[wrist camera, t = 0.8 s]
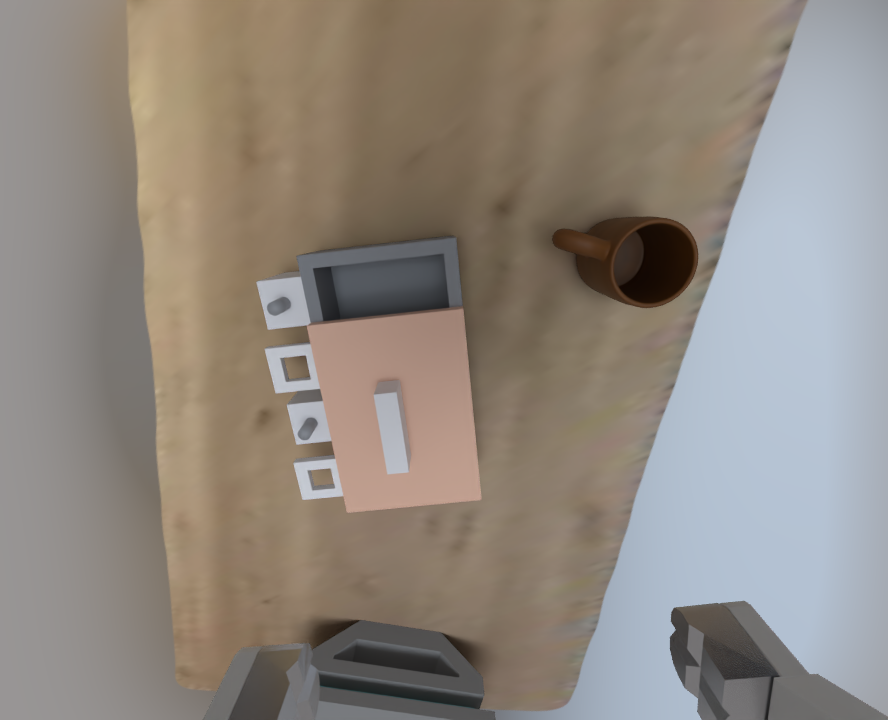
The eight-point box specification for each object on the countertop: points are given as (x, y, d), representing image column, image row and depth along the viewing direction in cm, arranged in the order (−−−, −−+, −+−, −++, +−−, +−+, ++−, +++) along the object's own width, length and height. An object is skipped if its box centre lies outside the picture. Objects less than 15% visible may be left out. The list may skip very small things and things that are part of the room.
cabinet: (280, 255, 43) (238, 263, 34) (453, 235, 43) (457, 238, 34) (319, 428, 49) (292, 473, 40) (470, 412, 49) (477, 454, 40)
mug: (524, 270, 44) (545, 282, 35) (549, 195, 42) (578, 188, 33) (629, 300, 45) (676, 320, 36) (659, 229, 43) (717, 231, 34)
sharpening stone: (306, 652, 61) (279, 740, 50) (313, 612, 58) (285, 696, 48) (473, 677, 63) (480, 767, 52) (486, 639, 60) (496, 725, 50)
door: (263, 328, 38) (242, 340, 34) (462, 306, 38) (465, 316, 34) (308, 509, 45) (295, 537, 41) (480, 492, 44) (484, 519, 40)
